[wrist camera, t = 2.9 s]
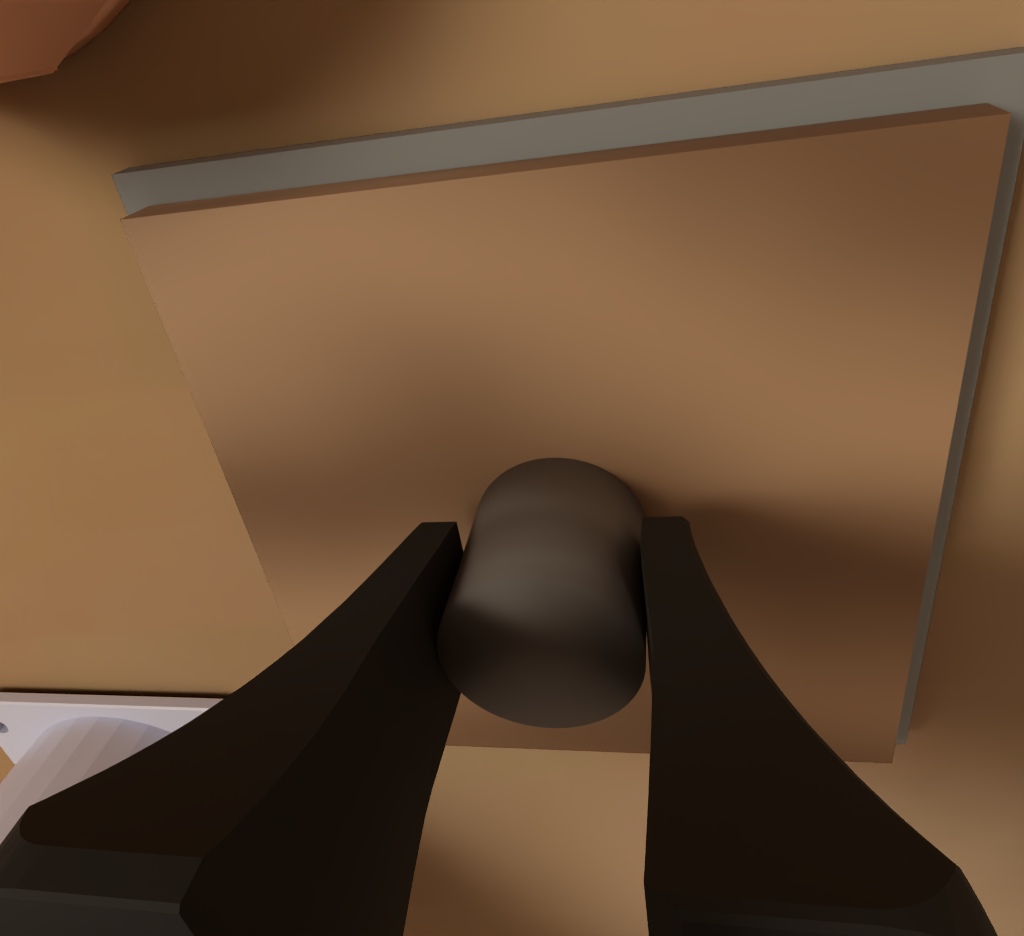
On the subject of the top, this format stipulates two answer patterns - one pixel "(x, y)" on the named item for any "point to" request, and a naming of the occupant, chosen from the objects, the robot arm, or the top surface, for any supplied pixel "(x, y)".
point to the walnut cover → (604, 400)
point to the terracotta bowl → (48, 32)
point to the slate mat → (713, 112)
